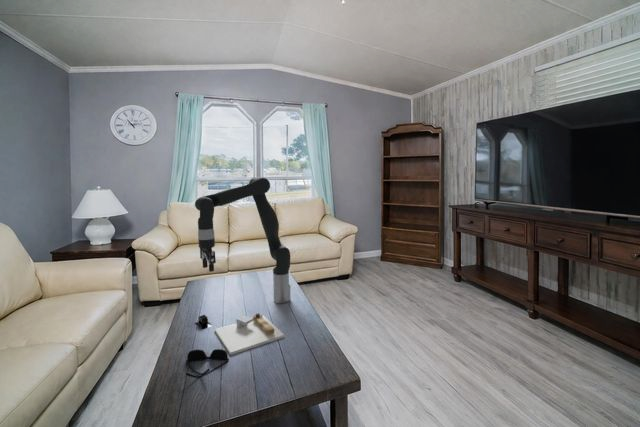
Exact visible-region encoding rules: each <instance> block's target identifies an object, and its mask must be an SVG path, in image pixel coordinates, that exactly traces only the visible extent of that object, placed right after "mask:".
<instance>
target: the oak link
mask: <svg viewBox="0 0 640 427" xmlns="http://www.w3.org/2000/svg"><path fill="white" fill-rule="evenodd" d="M262 316H263V315H261V314H260V312H259V313H256V314H254V315H253V317H252V318H253V321H254V322H256V323H257V324H258V325H259V326H260V327H261V328H262V329H263V330H264V331H265V332H266V333H267V334H268V335H270V334H273V333H274V328H273V327H272V326H271V325H270V324H269V323H268V322H267V321H265V320H264V319H263V318H262Z"/></svg>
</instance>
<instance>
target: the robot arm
mask: <svg viewBox="0 0 640 427" xmlns="http://www.w3.org/2000/svg"><path fill="white" fill-rule="evenodd" d="M270 188H271V183H270V181H269V180H268V178H266V177H262V176H259V177H258V176H256V177H252V178H251V179H250V180H249V182H248V184H244V185H241V186H237V187H232V188H228V189H224V190H222V191H218V192H216V193H213V194H207V195H203V196H201V197H200V196H199V197H198V198H197V199H196V200H195V202H194V206H195V208H196V210H197V211H199V217H198V219H197V228H198V230H197V237H198V248H199V254H200V257H199V258H200V259H201V261H202V268H204V269H205V268H208V271H209V272H214V271H215V264H216V263H217V260H216V252H215V250H213V249H212V248H215V246H216V241H215V240H216V239H215V238H216V237H215V230H214V214H215V208H216V207H223V206H226V205H229V204H232V203H235V202H236V201H240V200H242V199H245V198H248V197H252V199H253V200H254V203H255V206H256V208H257V212H258V215H259V219H260V222H261V226H262V228H263V231H264V234H265V238H266V239H267V244H268V248H269V249H268V250H269V253H270V254H269V255H270V257H271V258H272V259H273V260H274V261H275V266H274V267H273V269H272V273H273V274H272V277H273V278H272V279H273V280H272V282H273V285H272V286H273V302H274V303H276V304H286V303H288V302H289V301H291V298H292V297H291V284H290V268H291V252H290V249H289V248H288V247H286V246H283V244H282V243H281V240H280V237H279V229H280V226H279V225H280V222H279V219H278V217H277V213H276V211H275V209H274V208H273V206H272V205H271V204H270V202H269V201H268V198H267V195H266V194H267V193H268V192H269V191H270ZM285 302H286V303H285Z"/></svg>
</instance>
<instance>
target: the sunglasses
mask: <svg viewBox="0 0 640 427" xmlns="http://www.w3.org/2000/svg"><path fill="white" fill-rule="evenodd" d="M227 352H228V351H227V350H226V349H225V350H224V349H220V348H217V349H213V350H212V351H211V353H210V355H209V356H208V355H207V354H206V352H205V351H204V350H203V349H193V350H190V351H189V352H188V353H187V359H186V360H185V364H186V365H187V366H188V367H189V368H190V369H191V370H192V371H193V372H195V373H197V375H195V374H191V373H189V372H186V373H185V376H187V377H191V378H196V379H199V378H201V377H202V378H203V377H204V376H206V375H208V374H210V373H212V372H213V371H215V370H217V369H219V368H220V367H222V366H224V365H225V364H227V363H228V362H229V361H230V358H229V357H228V353H227ZM205 360H211V361H223V363H221V364H220V365H218V366H216V367H214V368H213V369H212V370H210V368H207V369H206V370H205V371H203V372H199V371H197V370H196V369H195V368H193V367H192V365H191V364H190V363H191V362H192V361H193V362H199V361H205Z"/></svg>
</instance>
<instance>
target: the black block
mask: <svg viewBox="0 0 640 427" xmlns="http://www.w3.org/2000/svg"><path fill="white" fill-rule="evenodd" d="M208 320H209V319H208V316H207V315H206V314H202V315H200V316H198V321H196V322H194V324H195V326H197V327H198V328H200V329H201V330H205V329H208V328H211V327H213V326H214V325H213V324H212V323H211V322H209V321H208Z"/></svg>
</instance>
